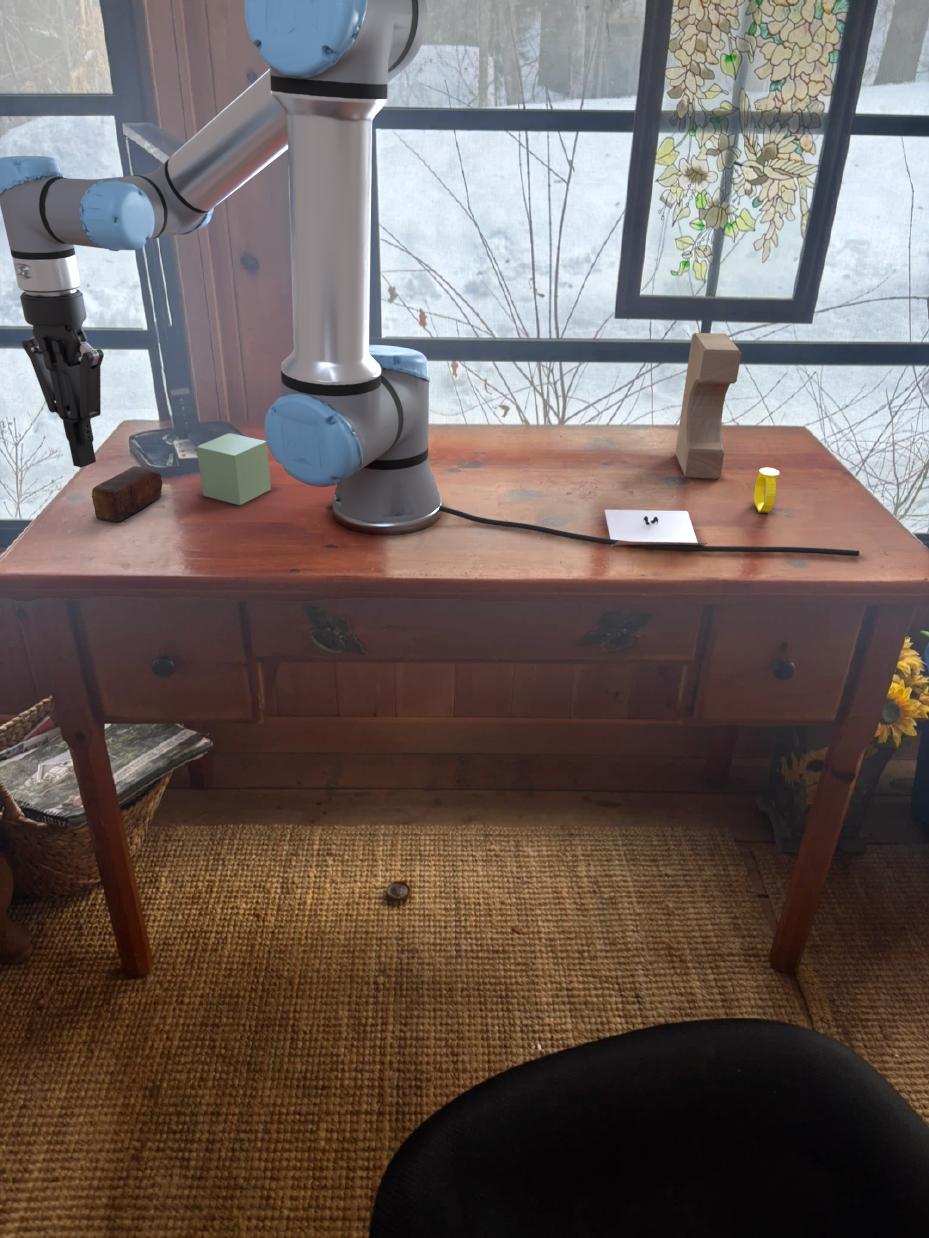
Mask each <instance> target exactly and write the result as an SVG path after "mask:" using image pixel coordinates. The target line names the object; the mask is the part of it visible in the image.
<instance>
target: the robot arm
mask: <svg viewBox="0 0 929 1238" xmlns="http://www.w3.org/2000/svg"><path fill="white" fill-rule="evenodd" d="M243 3H244V4H243V8H244V18H245V24H246V28H247V29H246V30H247V32H248V35H249V38H250V40H251V42H252V45H253V46H255V47H256V48H257V49H258V52H259V56H260V57H261V59H262V60H263V61H264V62H265V63H266V64H267V65H268V66H269V68H268V70H267V71H265V72H264V73H263V74H262V75H261V76H260V77H258V78H257V79H256V80H255V81H254V82H253V83H252V84H251V85H249V86H248V87H247V88H246V89H245V90H244V91H243V92H242V93H240V95H238V97H236V98H235V99H234V100H232V101H231V102H230V103H229V104H228V105H227V106H226V107H225V108H224V109H222V110H221V111H220V112H219V113H218V114H217V115H216V116H214V117H213V119H211V120H210V121H209V122H207V124H205V125H204V127H202V128H201V129H200V130H199V131H198V132H197V133H195V134H194V135H193V136H192V137H191V138H190V139H189V140H188V141H186V142H185V143H184V144H183V145H182V146H181V147H180V148H178V150H177V151H175V152H174V153H172V155H171V156H170V157H169V158H167V160H166V161H164V162H163V163H162V164H161V165H160V166H159V167H157V168H156V169H155V170H153V171H151V172H149V173H144V174H143V173H142V174H133V175H126V176H116V177H115V176H114V177H106V178H96V179H95V178H94V179H92V178H88V179H87V178H69V177H64V175H63V173H62V172H61V168H60V164H59V162H58V160H57V159H56V158H54V157H50V156H45V155H11V156H1V157H0V211H1V215H2V219H3V224H4V228H5V229H4V230H5V233H6V238H7V242H8V246H9V251H10V255H11V259H12V262H13V268H14V273H15V277H16V283H17V287H18V289H20V290H21V291H23V292H22V293H21V295H19V299H20V303H21V308H22V312H23V317H24V321H25V322H26V323H27V324H28V325H30V326H32V336H31V337H30V338H29V339H25V340H22V341H21V346H22V348H23V350H24V351H25V353H26V355H27V356H28V358H29V359H30V363H31V365H32V368H33V370H34V373H35V377H36V378H37V382H38V384H39V387H40V389H41V393H42V395H43V397H44V398H43V399H44V400H45V403H46V406H47V408H48V411H49V412H50V413H51V414H54V413H56V414H57V415H58V417H59V419H60V420H61V421H62V423H63V429H64V433H65V437H66V440H67V441H68V445H69V449H70V455H71V459H72V464H73V465H72V466H74V467H77V468H81V469H82V468H85V467H87V466H89V465H92V464H95V463H97V460H96V454H95V447H94V444H93V443H94V433H93V428H92V424H91V420H92V419H94V418H96V417H100V416H101V413H102V411H101V410H102V407H101V403H102V402H101V399H102V398H101V397H102V396H101V393H102V392H101V385H102V384H101V366H102V363H103V360H104V355H105V353H104V351H103V349H101V348H97V349H94V348H93V347H92V346H91V345H90V344H89V343H88V336H87V334H86V333H85V331H84V328H83V324H84V322H85V320H86V319H87V311H86V304H85V299H84V295H83V292H82V291H81V290H80V289H79V288H80V287H81V285H82V281H81V276H80V270H79V266H78V265H79V264H78V259H77V254H76V250H75V249H76V248H75V246H79V247H81V246H82V247H87V248H96V249H102V250H103V249H104V250H108V251H111V252H119V251H137V250H140V249H142V248H144V246H145V245H146V244H147V242H148V241H150V240H151V241H152V240H155V239H160V238H161V239H162V238H166V237H172V236H178V235H179V236H183V235H189V234H190V233H193V232H195V231H198V230H201V229H203V228H205V227H206V226H207V225H208V224H209V222H210V221H211V219H212V216H213V214H214V209H215V208H216V206H218V205H219V204H220V203H221V202H223V201H224V200H225V199H227V198H228V197H229V196H230V195H232V194H233V193H234V192H236V190H238V189H239V188H241V187H242V186H243V185H244V184H245V183H247V182H248V181H249V180H250V179H251V178H253V177H254V176H255V175H257V174H258V173H259V172H260V171H262V170H263V169H265V167H267V166H268V165H269V164H270V163H272V162H273V161H274V160H276V159H277V158H278V157H279V156H281V155H282V154H283V153H284V152H285V151H287V165H288V166H287V167H288V196H289V197H288V198H289V202H288V203H289V227H290V228H289V230H290V231H289V232H290V234H289V235H290V268H291V299H292V335H293V350H292V352H291V353H290V354H288V356H287V357H285V359H284V360H282V362H281V365H280V378H281V379H280V381H281V383H280V384H281V396H279V397H278V398H276V400H275V401H273V403H272V405H271V406H270V407H269V408H268V410H267V412H266V413H265V418H264V427H263V428H264V430H263V431H264V437H265V441H267V448H268V449H269V451H270V453H271V456H273V458H274V460H275V462H277V464H278V465H279V464H280V465H281V466H282V467H283V468H284V471H285V472H286V473H287V474H288V475H289V476H291V477H292V478H293V479H295V480H297V481H298V482H300V483H303V484H306V485H308V486H311V487H316V488H317V487H318V488H327V487H333V486H335V485H336V487H335V490H334V494H333V499H332V515H333V518H334V519H335V521H336V522H337V523H338V524H339V525H341V526H342V527H345V528H347V529H349V530H352V531H355V532H359V533H363V534H371V535H388V536H389V535H401V534H402V535H403V534H408V533H413V532H417V531H421V530H423V529H425V528H428V527H430V526H432V525H434V524H435V523H436V522H437V521H438V520H439V519H440V518H441V516H442V513H445V514H449V515H453V516H456V517H459V518H463V519H466V520H468V521H471V522H476V523H479V524H480V523H481V524H484V525H485V524H486V525H492V526H497V527H498V526H499V527H506V528H507V527H508V528H515V529H522V530H528V531H532V532H533V531H534V532H539V533H544V534H547V535H553V536H557V537H563V538H566V539H572V540H577V541H583V542H589V543H590V542H591V543H595V544H603V545H611V546H612V545H614V544H615V543H616V542H617V541H622V540H614V539H610V538H607V537H606V538H605V537H598V536H593V535H586V534H580V533H575V532H569V531H564V530H559V529H554V528H550V527H545V526H541V525H535V524H530V523H523V522H517V521H508V520H499V519H491V518H486V517H480V516H477V515H472V514H469V513H467V512H463V511H461V510H457V509H454V508H451V507H447V506H443V505H442V497H441V494H440V491H439V489H438V486H437V482H436V480H435V477H434V474H433V470H432V467H431V464H430V459H429V420H430V419H429V417H430V416H429V413H430V412H429V411H430V409H429V408H430V403H429V401H430V382H431V379H430V377H429V364H428V363H429V362H428V359H427V357H426V355H424V353H422V352H421V351H419V350H417V349H416V350H415V349H412V348H407V347H403V346H402V347H401V346H393V345H384V344H381V345H380V344H370V290H371V289H370V285H371V284H370V282H371V281H370V280H371V279H370V277H371V216H372V213H371V212H372V210H371V209H372V205H371V204H372V153H373V152H372V150H373V148H372V145H373V120H374V119H375V116H376V115H377V114H378V113H379V112H380V111H381V110H382V109H383V108H384V107H385V106H386V104H388V90H389V89H388V86H389V85H388V84H389V82H391V80H393V79H395V77H397V76H398V75H399V74H401V73H402V72H403V71H405V70H406V68H407V67H408V66H409V65H410V64H411V63H412V62H413V61H414V60H415V58H416V56H417V55H418V53H419V52H420V49H421V48H422V46H423V43H424V39H425V36H426V33H427V25H428V3H427V0H244V1H243ZM616 547H625V548H626V547H629V548H636V549H649V550H662V551H679V552H681V551H682V552H712V553H713V552H715V553H716V552H717V553H719V552H720V553H721V552H722V553H794V554H795V553H796V554H797V553H798V554H820V555H833V556H849V557H859V556H860V550H857V549H855V550H854V549H840V548H839V549H838V548H825V547H807V546H806V547H805V546H757V545H756V546H754V545H753V546H752V545H751V546H746V545H742V546H741V545H703V546H693V545H617V546H616Z"/></svg>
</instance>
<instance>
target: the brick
mask: <svg viewBox="0 0 929 1238" xmlns="http://www.w3.org/2000/svg"><path fill="white" fill-rule="evenodd" d="M162 489H163V479H162V475H161V473H160V472H159V471H158V470H155V469H153V468H152V467H148V466H147V467H146V466H132V467H130V468H127V469H126V470H124V471H122V472H120V473H119V474H116V475H115V476H113V477H112V478H109V479H106V480H105V481H103V482H100V483H99V484H97V485H95V486H94V487H93V488H92V490H91V498H92V505H93V508H94V512H95V517H96V518H95V519H97V520H101V521H108V522H113V523H120V522H122V521H124V520H125V519H127V518H128V517H129V518H130V517H131V516H133V515H134V514H136V513H138V512H139V511H141V510H142V509H144V508H145V507H148V505H150V504H152V503H153V502H156V501H157V500H158V499H160V498H161V497H162Z"/></svg>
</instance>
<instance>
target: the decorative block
mask: <svg viewBox="0 0 929 1238" xmlns="http://www.w3.org/2000/svg"><path fill="white" fill-rule="evenodd" d="M741 359H742V351H740V349H739V348H738V346H737V345H736V344H735V342H733V340H732V339H731V338H730V337H729V335H727V334H726V333H716V332H715V333H714V332H713V333H712V332H694V333H693V334H692V335H691V340H690V348H689V354H688V362H687V368H686V375H685V382H684V388H683V389H684V390H683V396H682V405H681V409H680V417H679V424H678V432H677V439H676V445H675V453H674V454H675V456H676V459H677V461H678V463H679V465H680V466H679V467H680V468H681V471H682V473H683V475H684V477H685V478H686V479H697V480H698V479H699V480H718V479H719V480H720V478H721V474H722V470H723V463H724V458H725V448H724V446H723V435H722V433H723V432H722V430H723V427H722V424H723V423H722V422H723V419H722V418H723V414H724V413H723V412H724V404H725V400H726V396H727V395H726V394H727V393H728V390H729V388H730V385H731V384H732V385H735V383H737V382H738V375H739V371H740V365H741Z"/></svg>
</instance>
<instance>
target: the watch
mask: <svg viewBox="0 0 929 1238" xmlns="http://www.w3.org/2000/svg"><path fill="white" fill-rule="evenodd" d="M779 477H780V471H779V470H777V469H776V468H773V467H762V468H759V470H758V475H757V477H756V481H755V486H754V492H753V494H754V495H753V499H754V500H753V502H754V505H755V507H756V510H757V511H758V513H759V514H769V513H770V512H771V511H772V510H773V507H774V506H775V505H774V504H775V500H776V495H777V479H778V478H779Z"/></svg>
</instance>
